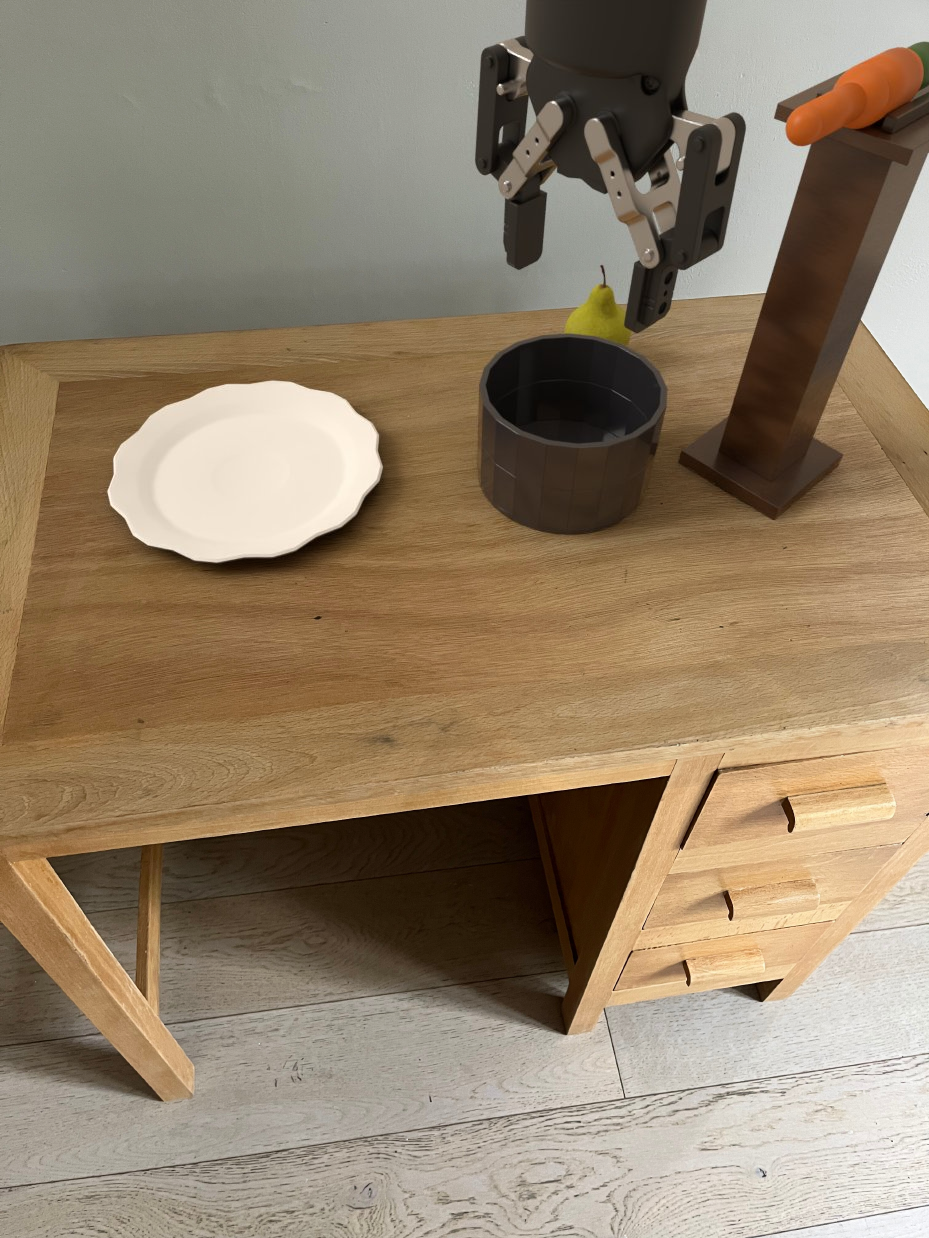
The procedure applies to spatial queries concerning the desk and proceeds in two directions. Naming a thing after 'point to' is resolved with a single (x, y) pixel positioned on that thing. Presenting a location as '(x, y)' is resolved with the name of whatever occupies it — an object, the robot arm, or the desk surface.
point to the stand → (814, 305)
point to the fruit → (600, 316)
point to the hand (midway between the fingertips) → (580, 293)
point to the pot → (568, 431)
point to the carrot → (863, 94)
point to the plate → (245, 471)
